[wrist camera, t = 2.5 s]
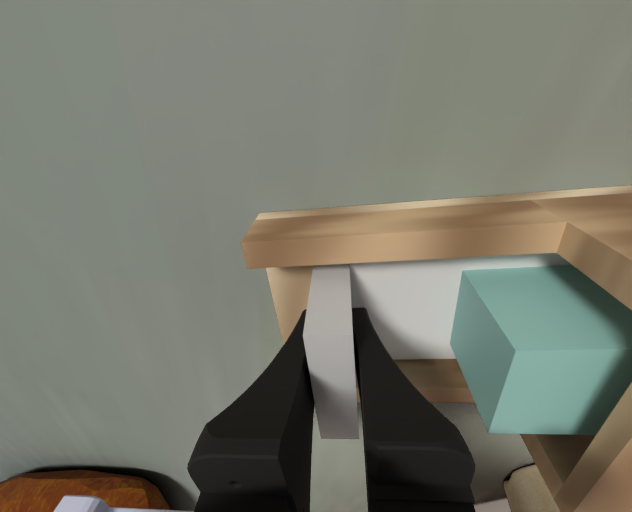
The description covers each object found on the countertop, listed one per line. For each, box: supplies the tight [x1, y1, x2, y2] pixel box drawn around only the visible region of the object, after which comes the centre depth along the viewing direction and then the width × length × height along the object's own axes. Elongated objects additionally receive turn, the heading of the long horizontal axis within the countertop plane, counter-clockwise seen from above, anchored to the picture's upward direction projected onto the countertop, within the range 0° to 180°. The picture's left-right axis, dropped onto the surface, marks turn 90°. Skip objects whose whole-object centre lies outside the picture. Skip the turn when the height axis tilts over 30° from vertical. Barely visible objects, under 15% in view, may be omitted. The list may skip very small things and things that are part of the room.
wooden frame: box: [241, 185, 632, 512], centre depth 12 cm, size 18×10×8 cm, turn 96°
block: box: [450, 265, 632, 435], centre depth 12 cm, size 4×4×4 cm
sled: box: [303, 253, 572, 439], centre depth 12 cm, size 12×7×5 cm, turn 96°
